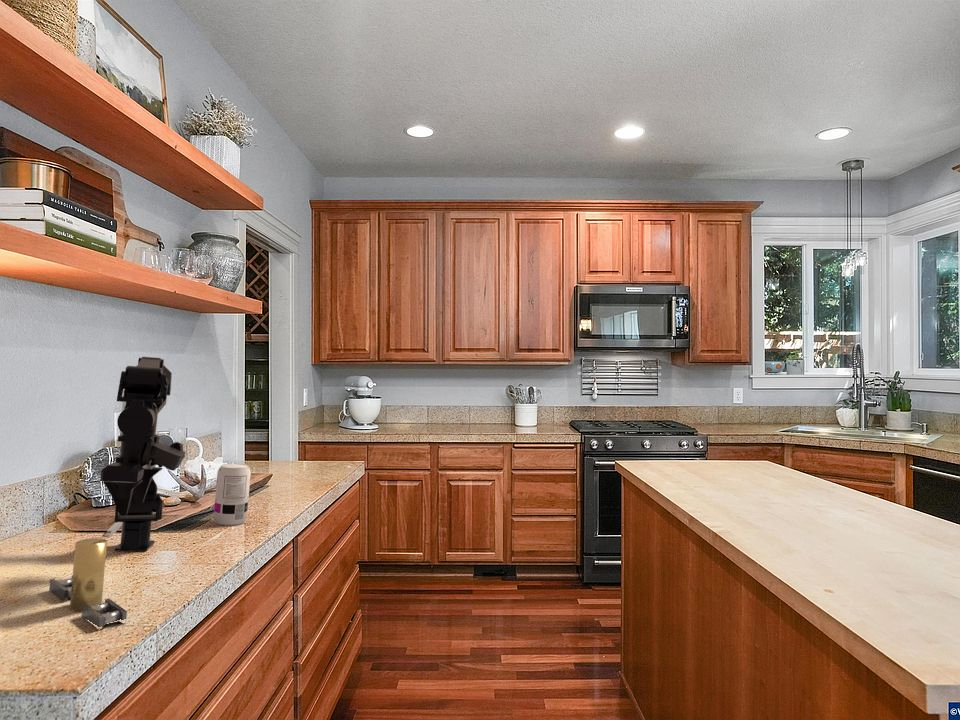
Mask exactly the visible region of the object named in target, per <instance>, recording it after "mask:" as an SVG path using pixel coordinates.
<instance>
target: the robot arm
mask: <svg viewBox="0 0 960 720" xmlns="http://www.w3.org/2000/svg"><path fill="white" fill-rule="evenodd" d="M164 362H165V359H163V358H161V357H152V356H151V357H150V356H142V357H138V361H137V365H127V366H126V367H125V371H123V370H122V371H121V373H120V377H119V378H120V379H119V384H118V391H117V396H116V402H121V403H122V402H123V403H125V406H123V410H121V412H120V413H119V415H118V417H117V427H118V430H119V431H120V432H121V434H120V435H117V442H120V450H119V455H118V456H117V457H115V462H111V463H109V464H107V465H106V466H104V467H103V468H102V469H101V470H100V478H99V480H100V481H101V482H103V485H105V487H106V489H107V491H108V492H109V494H110V496H111V498H112V500H113V502H114V504H115V507H114V508H115V509H114V510H115V511H114V523H116V522H122V526H121V536H120V543H119V544H118V545H117V546H115V547H114V548H113V549H114V551H115V552H116V551H117V552H118V551H119V552H147V551H148V550H149V549H150V548H151V547H152V546H153V545H154V544H155V541H156V540H151V531H152V530H151V529H152V522H159V521H160V520H162V519H163V518H162V517H163V507H164V506H163V503H164V500H163V499H162V497H161V493H158V485H157V483H156V482H155V480H154V478H153V477H155V475H156V474H158V473H159V472H161V471H162V470H163V469H164V468H165V469H167V470H169V471H176V470H177V469H179V468H180V465H181V464H182V462H183V460H184V459H185V457H186V451H185V450H184V444H183V443H181V442H179V441H174V442H173V443H171V445H168V444H167V443H165V444H163V443H161V442H160V436H159V434H157V425H158V424H157V423H158V415H159V413H160V412H161V411H162V410H163V408H164V407H165V406H166V405H167V400H168V396H171V391H172V375H173V373H172V372H171V371H170V370H169V369H168V368H167V367H166V366H165V363H164ZM156 465H157V466H158V467H157V466H156ZM163 467H164V468H163Z"/></svg>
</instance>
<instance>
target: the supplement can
mask: <svg viewBox="0 0 960 720" xmlns="http://www.w3.org/2000/svg"><path fill="white" fill-rule="evenodd" d="M216 473H217V475H216V488H215V495H214V496H215V497H214V509H213V521H214V522H215V524H217V525H220V526H238V525H241V524H244V523H245V522H246V520H247V519H248V509H249V508H248V506H249V495H250V483H251V482H250V481H251V474H252V473H251V470H250V466H249V465H248V464H245V463H235V462H234V463H232V462H231V463H222V464H220V466H219V468H218V470H217V472H216Z"/></svg>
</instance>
